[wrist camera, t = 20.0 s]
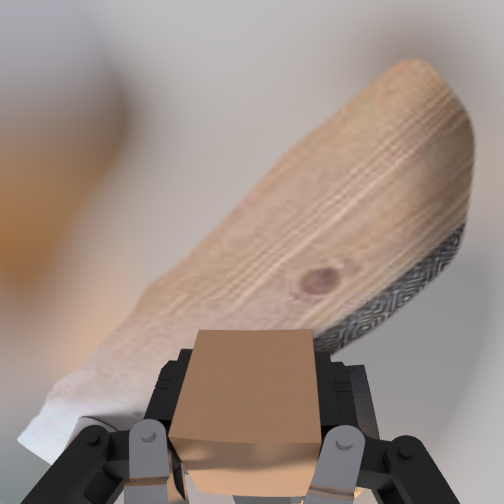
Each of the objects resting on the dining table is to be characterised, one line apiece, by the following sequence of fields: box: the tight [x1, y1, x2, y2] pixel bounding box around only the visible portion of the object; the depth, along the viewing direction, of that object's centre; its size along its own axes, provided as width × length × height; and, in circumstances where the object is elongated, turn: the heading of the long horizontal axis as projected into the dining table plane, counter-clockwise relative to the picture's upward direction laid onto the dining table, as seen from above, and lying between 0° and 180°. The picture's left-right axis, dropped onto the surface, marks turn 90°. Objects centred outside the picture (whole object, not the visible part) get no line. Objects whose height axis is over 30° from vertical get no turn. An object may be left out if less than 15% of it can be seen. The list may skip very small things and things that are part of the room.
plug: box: [168, 330, 321, 504], centre depth 14 cm, size 17×4×5 cm, turn 4°
